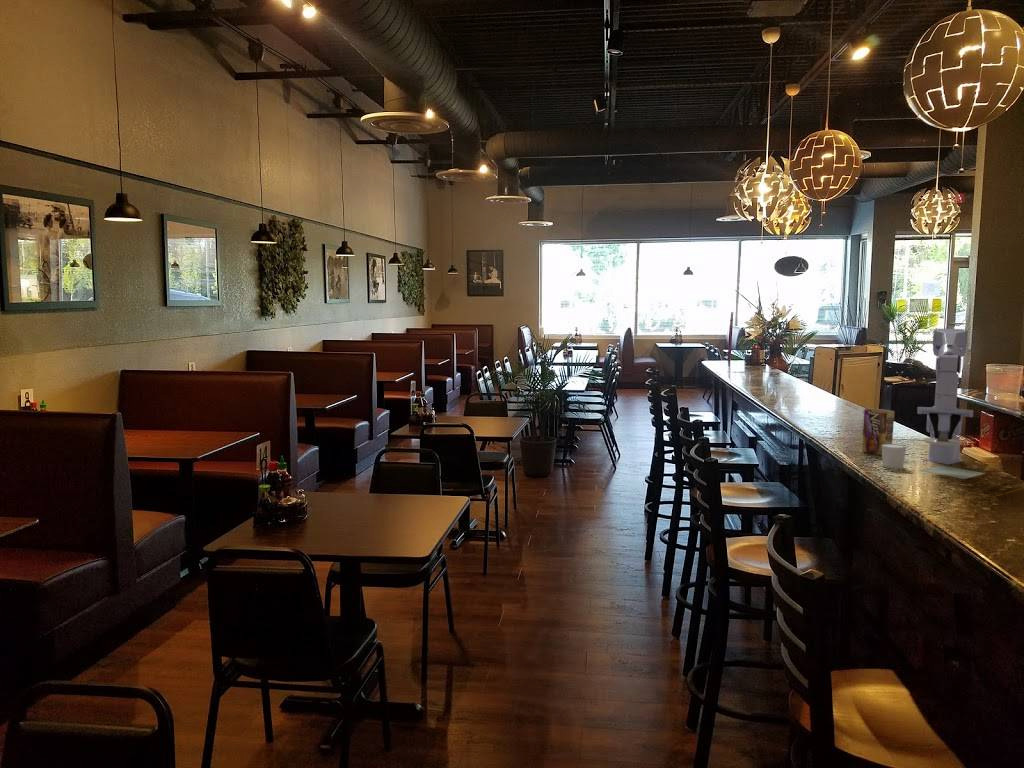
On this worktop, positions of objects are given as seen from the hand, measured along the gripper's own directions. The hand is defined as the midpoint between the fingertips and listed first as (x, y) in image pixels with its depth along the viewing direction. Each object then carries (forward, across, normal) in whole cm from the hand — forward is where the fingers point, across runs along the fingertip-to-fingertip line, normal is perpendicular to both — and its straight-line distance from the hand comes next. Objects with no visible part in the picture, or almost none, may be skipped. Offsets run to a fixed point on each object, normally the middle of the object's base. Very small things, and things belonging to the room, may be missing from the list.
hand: (942, 438), depth 225 cm
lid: (+1, 0, 0) cm, 1 cm away
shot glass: (+11, -13, 0) cm, 17 cm away
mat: (+10, +3, 0) cm, 11 cm away
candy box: (+11, -17, +22) cm, 30 cm away
